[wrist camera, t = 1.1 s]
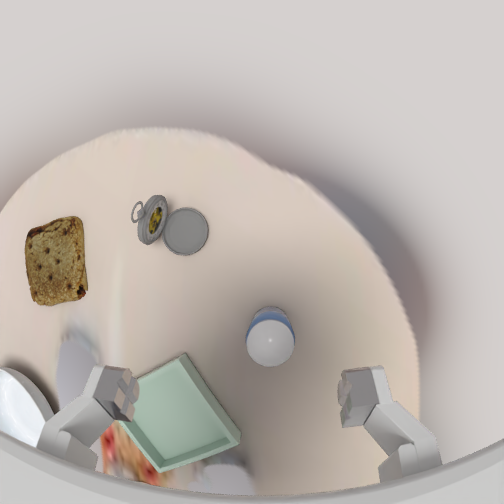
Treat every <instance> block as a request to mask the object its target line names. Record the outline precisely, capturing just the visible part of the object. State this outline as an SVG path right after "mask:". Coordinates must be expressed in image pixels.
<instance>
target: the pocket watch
mask: <svg viewBox="0 0 504 504" xmlns="http://www.w3.org/2000/svg"><path fill="white" fill-rule="evenodd" d="M138 204H141V208H142V209H140V210H139V211H138V212H137V214H138V219H137V220H134V219H133V213H134V209H135V208H136V206H137V205H138ZM155 209H156V210H155ZM155 211H156V213H154V212H155ZM166 216H167V201H166V199H165V197H164V196H162V195H154V196H152V197H151V198H150V199H149V200H148V201H147V202H146V204H145V205H144V207H143V203H142V202H141V201H139V202H137V203H136V204H135V206H134V208H133V210H132V213H131V220H132V222H133V223H136V222H137V221H138V220H139V222H138V237H139V239H140V241H141V242H143V243H144V244H146V245H150V244H152V243H153V242H154V241H155V240H156V239H157V238H158V237H159V235H160V233H161V232H162V238H163V241H164V244H165V245H166V247H167V248H168V249H169V250H170V251H172V252H173V253H175V254H178V255H190V254H193V253H195V252H197V251H198V250H199V249H200V248H201V247H202V246H203V245H204V243H205V241H206V239H207V235H208V226H207V222H206V220H205V218H204V217H203V215H202V214H201V213H199V212H198V211H196V210H194V209H192V208H180V209H177V210H175V211H173V212H172V213H171V214H170V215H169V216H168V217H166Z"/></svg>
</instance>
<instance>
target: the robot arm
mask: <svg viewBox="0 0 504 504" xmlns="http://www.w3.org/2000/svg"><path fill="white" fill-rule="evenodd" d="M341 377H342V380H340V381H339V384H338V402H339V404H340V405H341V406H342V410H341V412H340V415H341V422H342V428H345V427H354V426H362V425H364V426H363V427H364V428H365V429H366V430H367V431H368V433H369V434H370V435H371V436H372V437H373V438H374V440H375V441H376V442H377V443H378V444H379V445H380V447H381V448H382V449H383V450H384V451H385V452H386V454H387V455H388V456H389V457H388V458H387V459H386V460H385V461H384V462H383V463H382V464H381V465H380V466H379V467H378V470H379V477H380V483H377V484H372V485H367V486H362V487H356V488H351V489H344V490H337V491H330V492H321V493H311V494H298V495H276V496H246V495H245V496H244V495H224V494H211V493H201V492H192V491H184V490H178V489H171V488H165V487H160V486H154V485H149V484H144V483H140V482H135V481H131V480H127V479H123V478H119V477H115V476H112V475H108V474H105V473H101V472H98V471H95V468H96V464H97V459H98V456H97V454H96V453H94V452H93V451H92V450H90V449H89V448H90V446H91V445H92V444H93V443H94V442H95V441H96V440H97V439H98V438H99V437H100V436H101V435H102V434H103V433H104V431H105V430H106V429H107V428H108V427H109V426H110V425H111V424H112V423H113V422H114V420H120V421H126V422H132V420H133V416H134V412H135V407H134V405H133V404H134V403H135V402H136V401H137V400H138V398H139V393H140V387H139V383H138V381H137V380H136V379H135V378H134V377H132V372H131V370H130V369H129V368H120V367H113V366H107V365H100V364H96V365H95V366H94V367H93V369H92V372H91V374H90V377H89V379H88V381H87V384H86V387H85V389H84V392H83V394H82V395H79V396H77V397H76V398H75V399H74V400H73V401H71V402H70V403H69V404H68V405H66V406H65V407H64V408H63V409H62V410H60V411H59V412H58V413H57V414H55V415H54V416H53V417H52V418H51V419H49V420H48V421H47V422H46V423H45V424H44V426H43V429H42V432H41V434H40V437H39V440H38V443H37V446H36V448H35V447H33V446H31V445H28V444H26V443H24V442H22V441H20V440H18V439H16V438H14V437H12V436H10V435H9V434H7V433H5V432H3V431H1V430H0V504H504V439H502V440H500V441H498V442H496V443H494V444H492V445H490V446H488V447H486V448H483V449H481V450H479V451H477V452H474V453H472V454H470V455H467V456H465V457H462V458H460V459H457V460H455V461H452V462H449V463H447V464H444V465H442V461H441V457H440V452H439V449H438V445H437V441H436V437H435V435H434V434H433V433H431V432H430V431H429V430H428V429H427V428H426V427H425V426H424V425H422V424H421V423H420V422H419V421H418V420H417V419H416V418H415V417H414V416H413V415H411V414H410V413H409V412H408V411H407V410H406V409H405V408H404V407H403V406H401V405H400V404H399V403H398V402H397V401H394V402H393V399H392V396H391V392H390V388H389V385H388V381H387V378H386V374H385V371H384V368H383V367H382V366H381V365H379V366H372V367H363V368H356V369H348V370H343V371H342V374H341Z"/></svg>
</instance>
